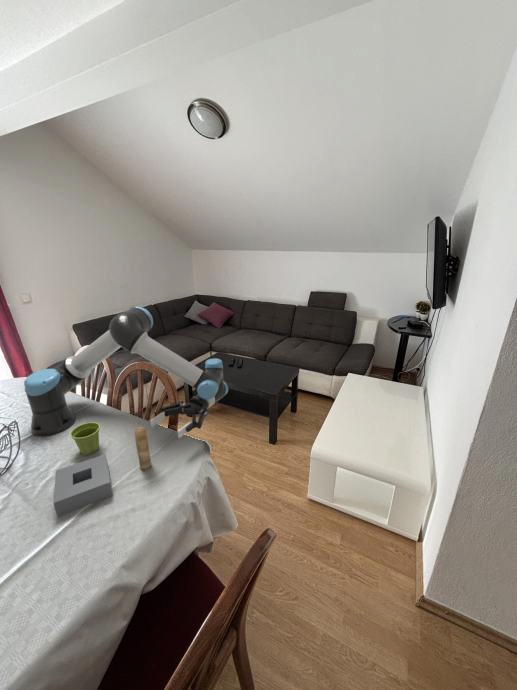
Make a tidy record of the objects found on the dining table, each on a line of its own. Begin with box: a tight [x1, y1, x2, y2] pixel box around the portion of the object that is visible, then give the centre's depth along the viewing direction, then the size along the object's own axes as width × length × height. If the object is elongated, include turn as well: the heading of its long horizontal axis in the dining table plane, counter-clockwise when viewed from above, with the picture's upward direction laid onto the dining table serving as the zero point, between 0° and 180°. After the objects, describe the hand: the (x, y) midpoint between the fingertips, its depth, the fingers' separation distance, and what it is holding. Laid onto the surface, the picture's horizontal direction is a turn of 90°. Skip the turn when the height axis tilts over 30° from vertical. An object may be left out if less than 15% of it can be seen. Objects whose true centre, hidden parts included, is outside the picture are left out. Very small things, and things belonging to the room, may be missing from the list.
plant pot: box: [69, 421, 101, 455], centre depth 104 cm, size 9×9×9 cm
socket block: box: [53, 454, 114, 517], centre depth 87 cm, size 14×14×5 cm
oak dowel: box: [133, 426, 152, 471], centre depth 95 cm, size 4×4×15 cm
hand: (164, 428), depth 102 cm, fingers open, 13 cm apart
